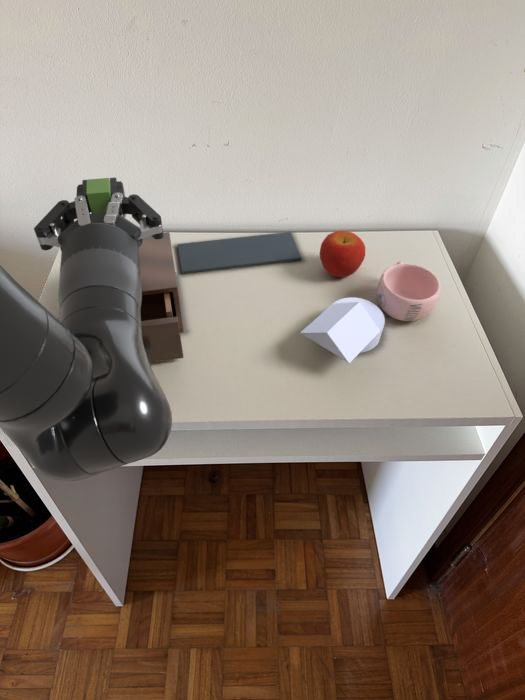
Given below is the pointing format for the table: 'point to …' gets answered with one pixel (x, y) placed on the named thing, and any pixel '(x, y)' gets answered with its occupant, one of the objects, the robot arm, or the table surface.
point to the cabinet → (159, 271)
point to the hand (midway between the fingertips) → (100, 185)
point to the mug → (408, 291)
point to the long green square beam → (98, 195)
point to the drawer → (160, 328)
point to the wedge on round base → (347, 327)
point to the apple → (342, 253)
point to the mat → (237, 252)
